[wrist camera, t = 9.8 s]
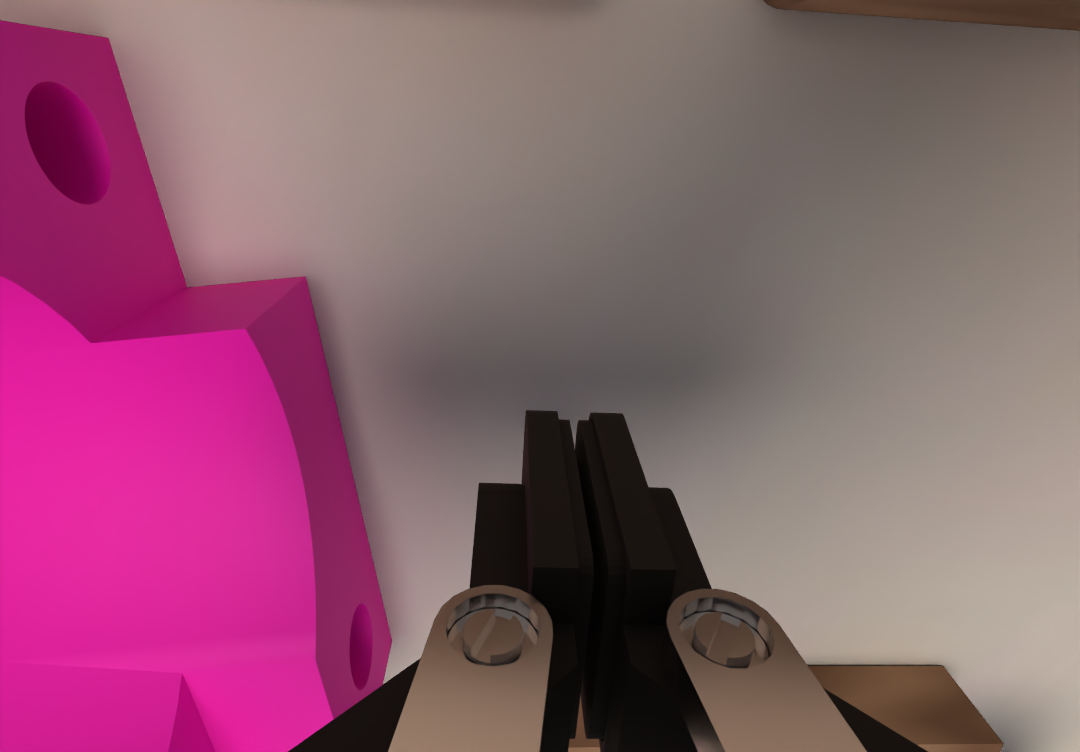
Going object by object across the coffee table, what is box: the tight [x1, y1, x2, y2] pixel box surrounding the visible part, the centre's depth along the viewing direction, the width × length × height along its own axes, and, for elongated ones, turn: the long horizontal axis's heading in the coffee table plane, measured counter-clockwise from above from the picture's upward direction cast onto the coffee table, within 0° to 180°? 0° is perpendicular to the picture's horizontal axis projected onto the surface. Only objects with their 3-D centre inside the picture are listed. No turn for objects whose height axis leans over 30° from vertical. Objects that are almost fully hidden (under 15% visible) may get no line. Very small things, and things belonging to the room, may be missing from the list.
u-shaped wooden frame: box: [568, 0, 1080, 752], centre depth 12 cm, size 26×19×5 cm
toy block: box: [0, 21, 392, 752], centre depth 11 cm, size 15×6×8 cm, turn 5°
